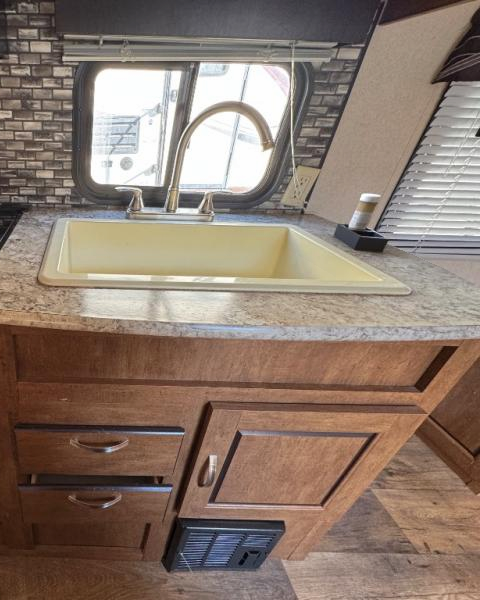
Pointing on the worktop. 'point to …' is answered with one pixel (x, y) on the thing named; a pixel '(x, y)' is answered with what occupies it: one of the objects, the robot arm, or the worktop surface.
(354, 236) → the grid
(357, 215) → the sprinkles bottle
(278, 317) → the worktop surface
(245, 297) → the worktop surface
